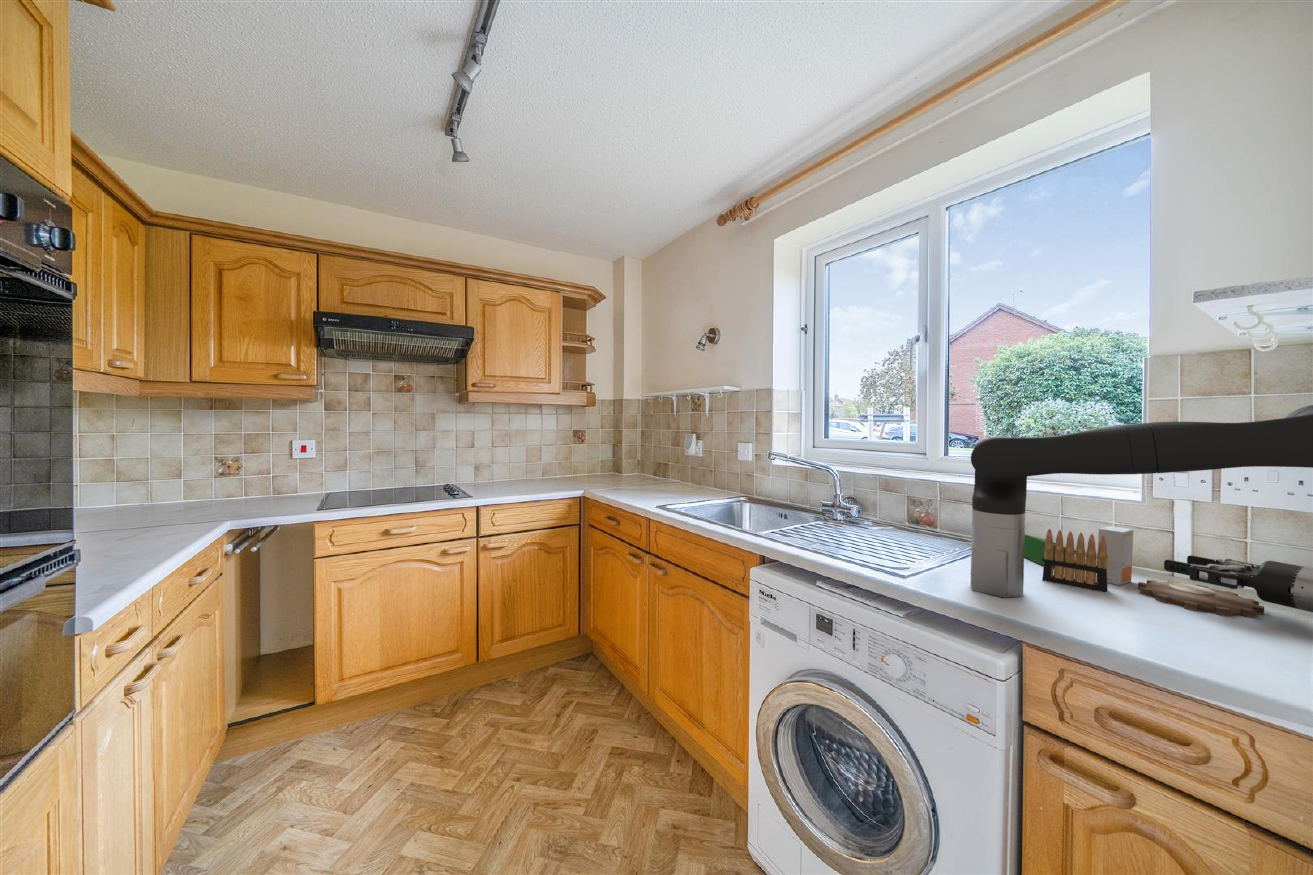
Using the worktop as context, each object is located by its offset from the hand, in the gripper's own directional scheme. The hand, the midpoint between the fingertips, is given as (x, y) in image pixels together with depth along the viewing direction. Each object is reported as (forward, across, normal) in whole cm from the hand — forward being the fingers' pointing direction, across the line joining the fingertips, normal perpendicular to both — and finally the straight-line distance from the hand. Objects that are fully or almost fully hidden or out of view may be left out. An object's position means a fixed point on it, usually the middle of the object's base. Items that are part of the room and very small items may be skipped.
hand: (1176, 562), depth 96 cm
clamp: (+25, -2, +8) cm, 26 cm away
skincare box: (+10, 0, +7) cm, 12 cm away
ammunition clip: (+12, +12, +8) cm, 18 cm away
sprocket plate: (-3, -1, +7) cm, 8 cm away
